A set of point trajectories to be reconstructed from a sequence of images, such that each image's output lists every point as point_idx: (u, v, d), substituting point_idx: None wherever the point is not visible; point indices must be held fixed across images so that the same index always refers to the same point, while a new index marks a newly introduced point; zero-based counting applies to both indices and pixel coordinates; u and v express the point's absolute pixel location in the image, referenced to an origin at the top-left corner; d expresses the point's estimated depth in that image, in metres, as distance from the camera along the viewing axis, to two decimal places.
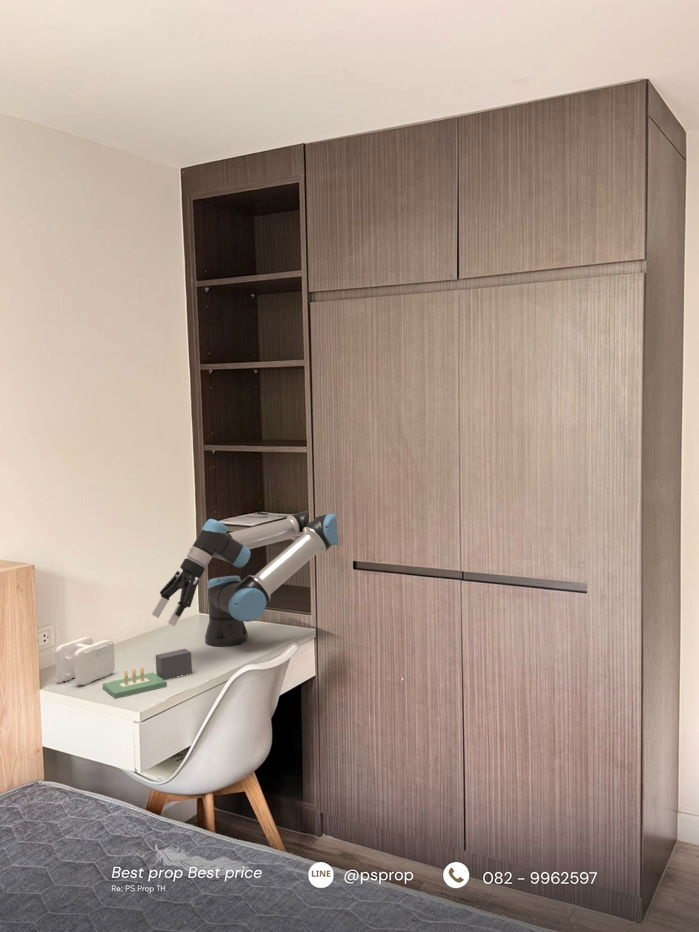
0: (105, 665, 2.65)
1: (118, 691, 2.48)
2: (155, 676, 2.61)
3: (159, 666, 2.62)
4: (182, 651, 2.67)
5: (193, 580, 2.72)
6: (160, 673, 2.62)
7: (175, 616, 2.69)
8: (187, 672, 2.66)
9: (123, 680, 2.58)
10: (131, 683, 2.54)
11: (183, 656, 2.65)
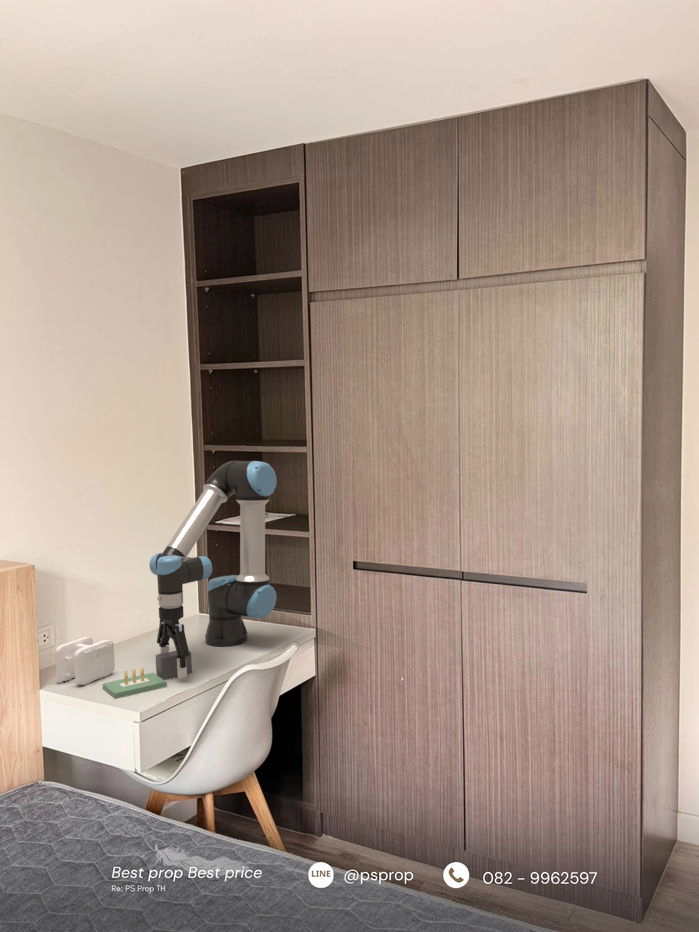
0: (105, 665, 2.65)
1: (118, 691, 2.48)
2: (155, 676, 2.61)
3: (159, 666, 2.62)
4: None
5: (178, 628, 2.58)
6: (160, 673, 2.62)
7: (182, 668, 2.59)
8: (187, 672, 2.66)
9: (123, 680, 2.58)
10: (131, 683, 2.54)
11: None
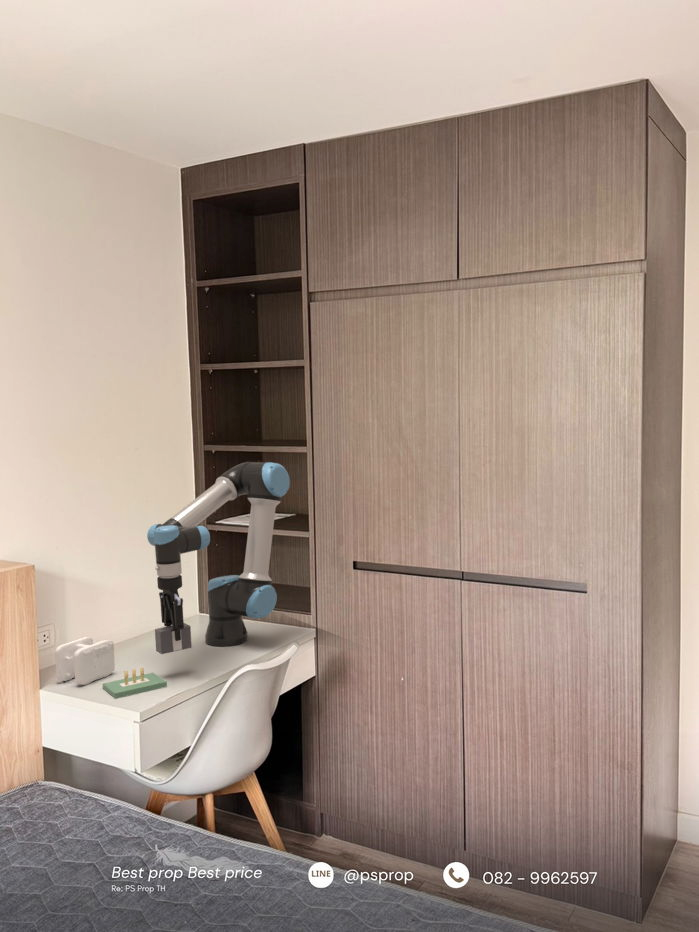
0: (105, 665, 2.65)
1: (118, 691, 2.48)
2: (155, 676, 2.61)
3: (158, 640, 2.62)
4: None
5: (176, 603, 2.58)
6: (159, 647, 2.62)
7: (177, 641, 2.63)
8: (187, 646, 2.66)
9: (123, 680, 2.58)
10: (131, 683, 2.54)
11: (183, 630, 2.64)
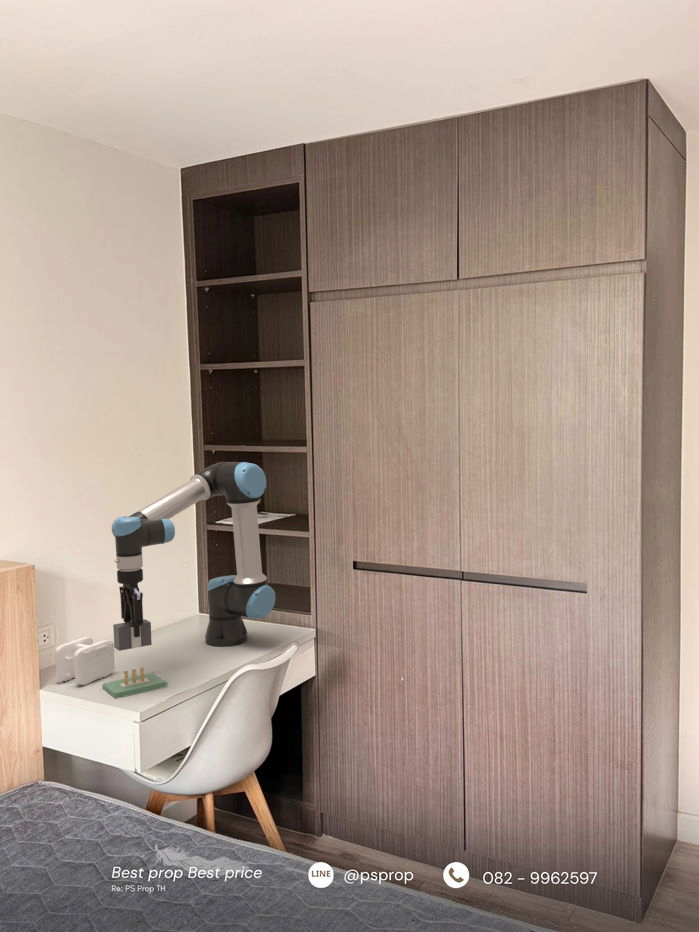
0: (105, 665, 2.65)
1: (118, 691, 2.48)
2: (155, 676, 2.61)
3: (116, 636, 2.51)
4: None
5: (136, 597, 2.48)
6: (117, 643, 2.51)
7: (136, 638, 2.52)
8: (146, 643, 2.55)
9: (123, 680, 2.58)
10: (131, 683, 2.54)
11: (142, 626, 2.54)
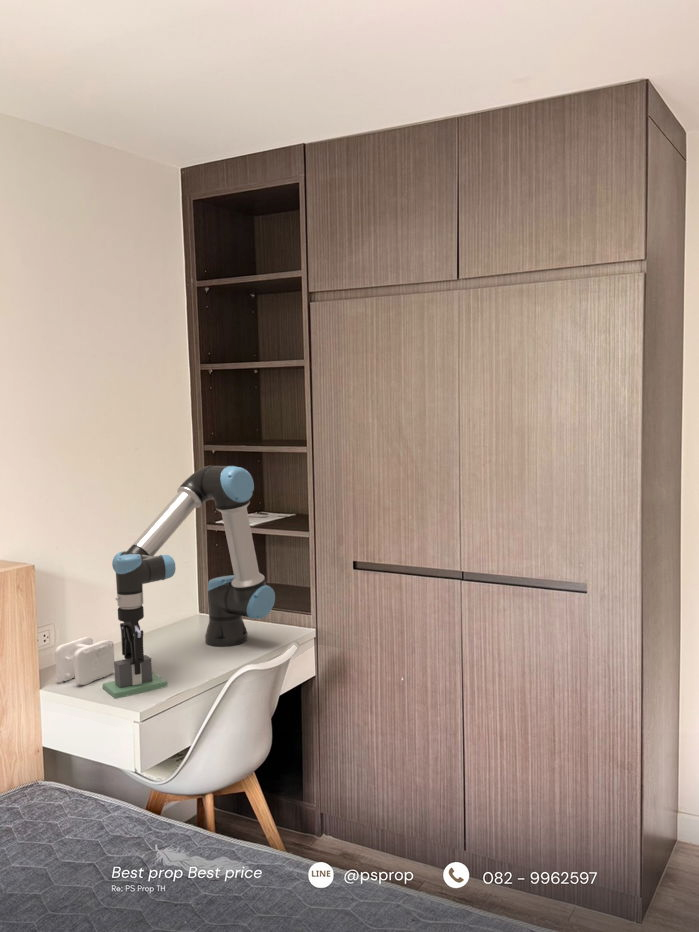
0: (105, 665, 2.65)
1: (118, 691, 2.48)
2: (155, 676, 2.61)
3: (117, 673, 2.52)
4: None
5: (136, 635, 2.48)
6: (118, 680, 2.51)
7: (136, 675, 2.53)
8: (147, 679, 2.55)
9: None
10: None
11: (143, 662, 2.54)
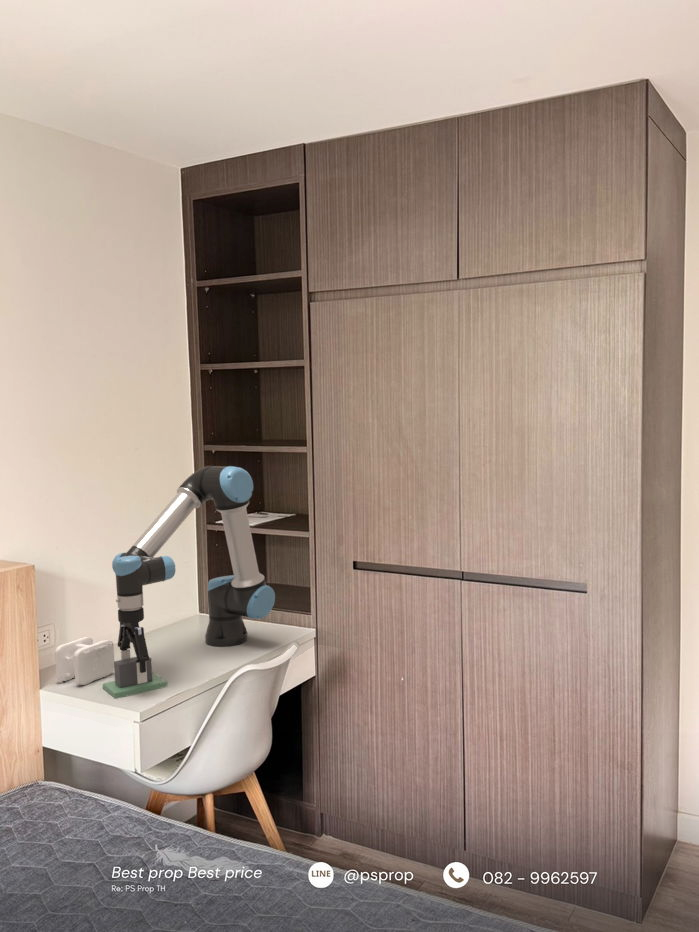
0: (105, 665, 2.65)
1: (118, 691, 2.48)
2: (155, 676, 2.61)
3: (117, 673, 2.52)
4: None
5: (137, 632, 2.48)
6: (118, 680, 2.51)
7: (142, 673, 2.49)
8: (147, 679, 2.55)
9: None
10: None
11: None
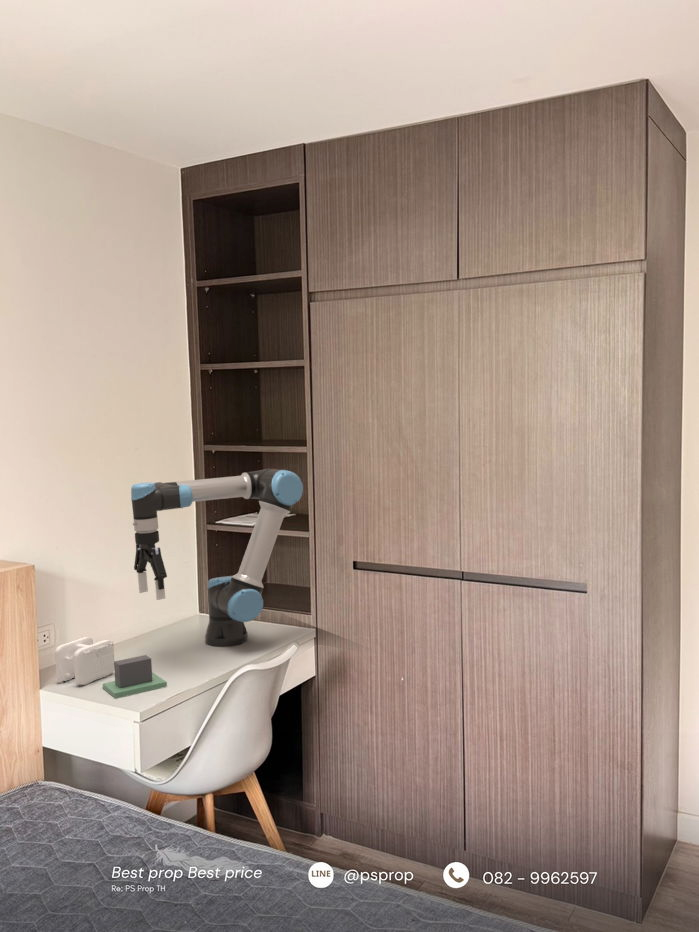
0: (105, 665, 2.65)
1: (118, 691, 2.48)
2: (155, 676, 2.61)
3: (117, 673, 2.52)
4: (142, 657, 2.57)
5: (154, 551, 2.66)
6: (118, 680, 2.51)
7: (160, 590, 2.67)
8: (147, 679, 2.55)
9: None
10: None
11: (143, 662, 2.54)
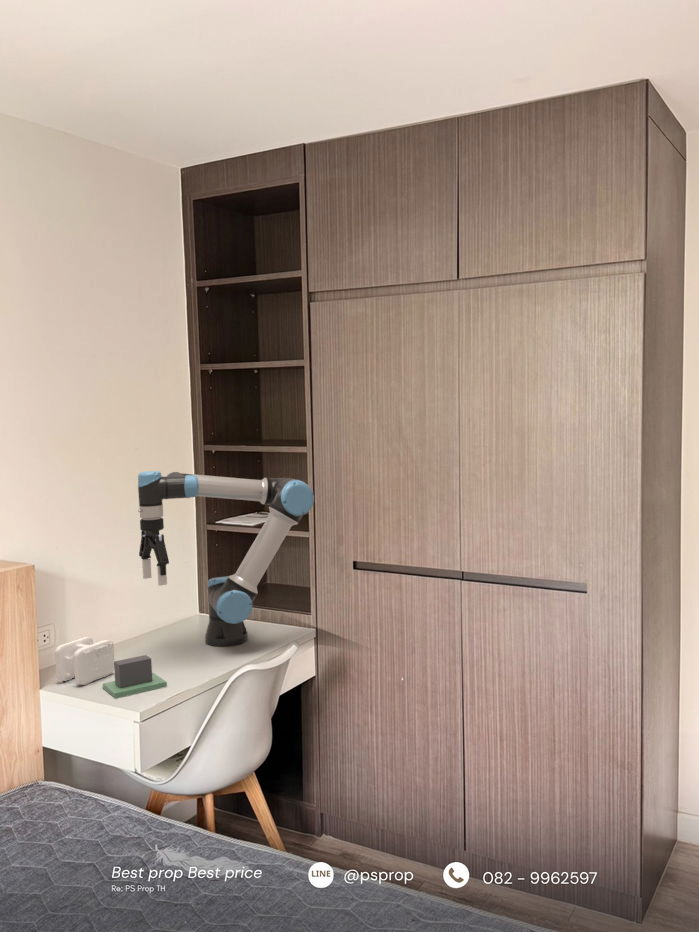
0: (105, 665, 2.65)
1: (118, 691, 2.48)
2: (155, 676, 2.61)
3: (117, 673, 2.52)
4: (142, 657, 2.57)
5: (158, 538, 2.72)
6: (118, 680, 2.51)
7: (162, 576, 2.73)
8: (147, 679, 2.55)
9: None
10: None
11: (143, 662, 2.54)
